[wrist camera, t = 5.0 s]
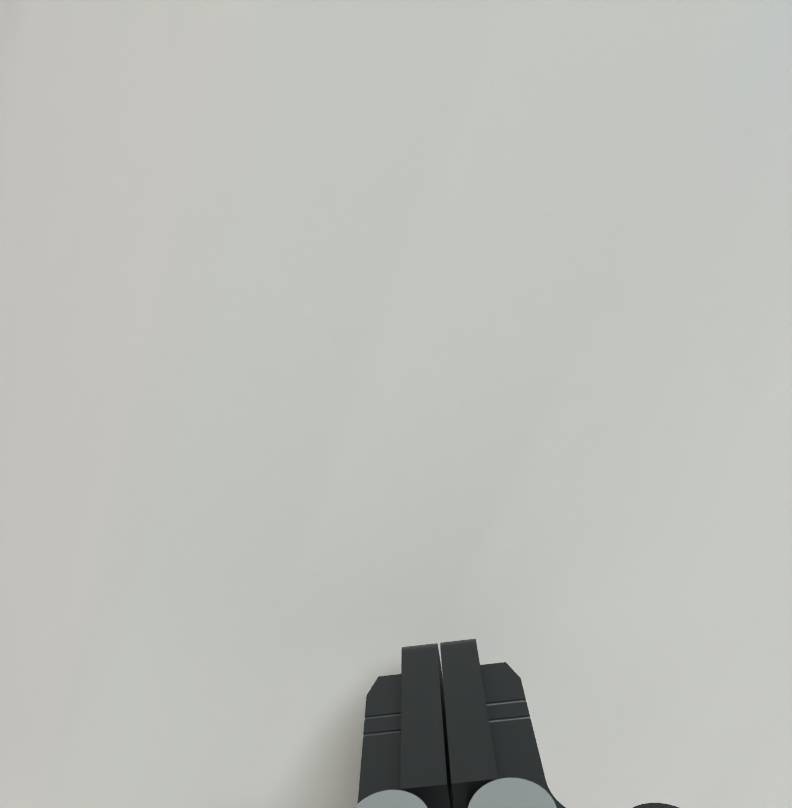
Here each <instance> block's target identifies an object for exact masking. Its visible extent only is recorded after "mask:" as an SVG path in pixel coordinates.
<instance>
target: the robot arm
mask: <svg viewBox="0 0 792 808" xmlns="http://www.w3.org/2000/svg"><path fill="white" fill-rule="evenodd" d="M440 646H441V659H442V670H441V663H440V656H439V649H438V644H428V645H419V646H410V647H402V673H401V674H398V675H389V676H380V677H378V678H377V680H376V682H375V683H374V685H373V686H372V688H371V690H370V691H369V693H368V694H367V698H366V710H365V723H364V737H363V747H362V760H361V772H360V784H359V796H358V804H357V805H356V806H355V807H354V808H565V807H564V806H563V805H561V804H560V803H559V802H558V801H557V800H556V799H555V797H554V796H553V795H552V794H551V792H550V790H549V788H548V786H547V783H546V780H545V776H544V772H543V768H542V764H541V759H540V755H539V751H538V747H537V743H536V739H535V735H534V731H533V727H532V723H531V719H530V715H529V711H528V707H527V703H526V699H525V694H524V690H523V686H522V682H521V678H520V677H519V676H518V675H517V674H516V673H515V672H514V671H513V670H512V669H511V668H510V666H509V665H508V664H507V663H506V662H504V663H495V664H486V665H480V663H479V657H478V650H477V644H476V639H470V640H461V641H453V642H444V643H440ZM442 672H443V677H442ZM633 808H678V807H676V806H672V805H668V804H662V803H647V804H641V805H638V806H635V807H633Z"/></svg>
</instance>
